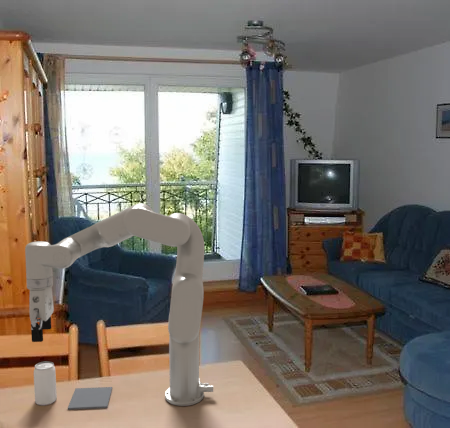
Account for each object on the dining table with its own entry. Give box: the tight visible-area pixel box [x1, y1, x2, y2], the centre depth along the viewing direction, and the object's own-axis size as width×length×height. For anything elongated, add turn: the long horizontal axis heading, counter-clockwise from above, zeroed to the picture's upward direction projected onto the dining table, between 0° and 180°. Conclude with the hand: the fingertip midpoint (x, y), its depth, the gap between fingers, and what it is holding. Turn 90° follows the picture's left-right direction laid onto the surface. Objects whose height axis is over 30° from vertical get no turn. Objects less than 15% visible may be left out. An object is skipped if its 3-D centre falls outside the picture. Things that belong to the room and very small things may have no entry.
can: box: [33, 360, 58, 407], centre depth 154 cm, size 6×6×12 cm
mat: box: [67, 386, 113, 411], centre depth 156 cm, size 12×12×1 cm
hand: (41, 335), depth 152 cm, fingers open, 9 cm apart
